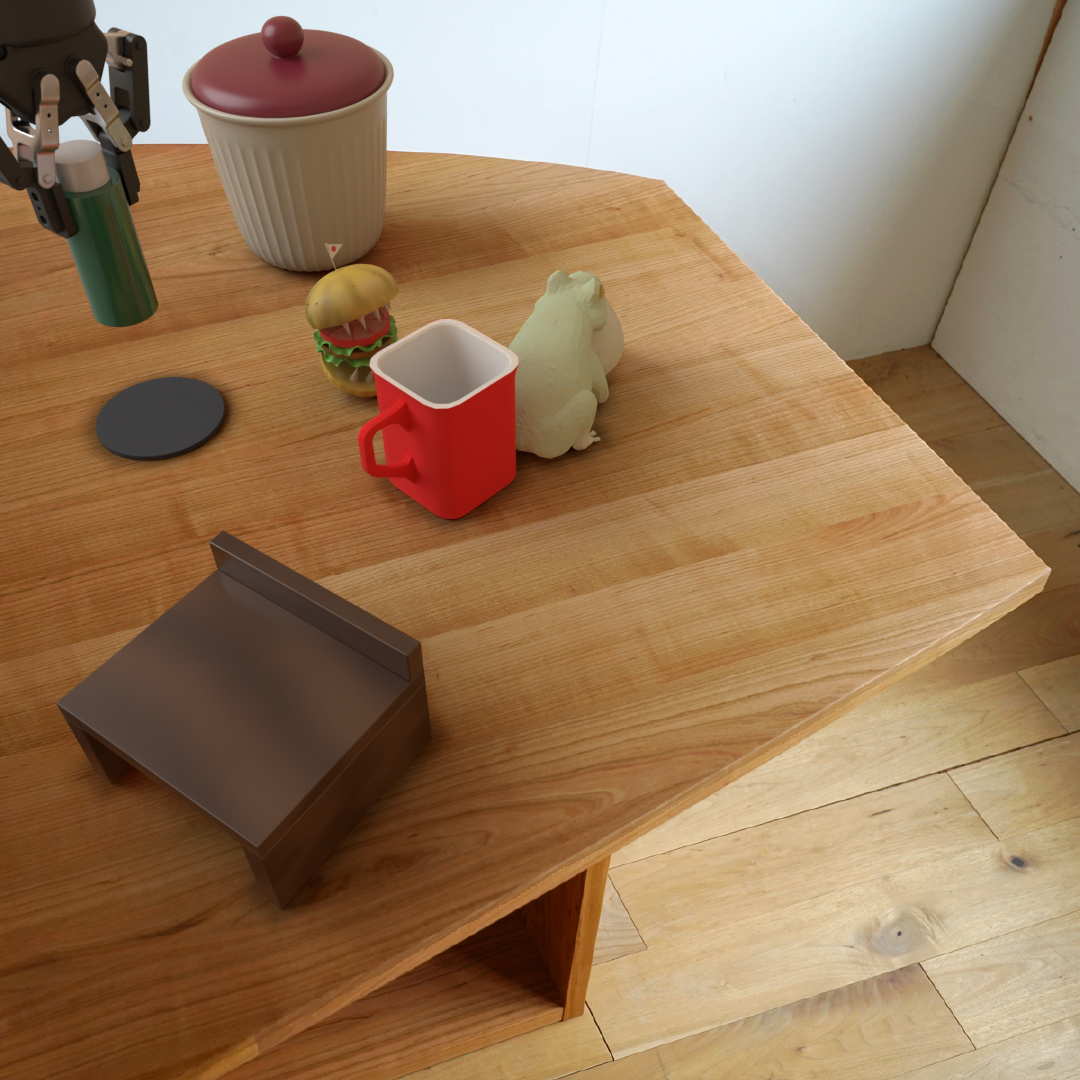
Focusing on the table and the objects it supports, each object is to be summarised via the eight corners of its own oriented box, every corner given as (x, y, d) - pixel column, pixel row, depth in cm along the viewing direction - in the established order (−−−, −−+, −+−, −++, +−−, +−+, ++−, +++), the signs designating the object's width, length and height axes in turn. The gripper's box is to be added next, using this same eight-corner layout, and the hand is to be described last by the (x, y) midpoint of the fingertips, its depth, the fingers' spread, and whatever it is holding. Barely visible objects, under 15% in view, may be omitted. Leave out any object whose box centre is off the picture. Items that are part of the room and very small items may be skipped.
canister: (413, 198, 108) (394, -20, 93) (403, 294, 96) (380, 61, 81) (239, 199, 108) (191, -20, 93) (206, 296, 95) (146, 62, 80)
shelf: (282, 910, 55) (247, 823, 48) (94, 771, 61) (40, 676, 54) (432, 738, 63) (421, 641, 56) (253, 629, 68) (223, 529, 62)
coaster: (156, 477, 78) (155, 473, 78) (69, 429, 82) (68, 425, 82) (251, 408, 84) (250, 404, 84) (166, 366, 88) (165, 362, 88)
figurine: (649, 361, 89) (660, 257, 82) (577, 480, 79) (583, 373, 71) (541, 332, 92) (542, 230, 85) (458, 444, 81) (451, 337, 74)
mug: (454, 425, 83) (446, 313, 75) (529, 474, 79) (529, 360, 71) (336, 501, 77) (315, 386, 69) (411, 557, 73) (397, 443, 65)
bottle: (122, 334, 73) (68, 174, 65) (79, 313, 75) (21, 155, 67) (171, 304, 76) (126, 147, 67) (129, 285, 78) (79, 129, 69)
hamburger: (360, 420, 83) (340, 291, 75) (299, 385, 86) (273, 257, 78) (426, 375, 87) (414, 248, 79) (366, 343, 91) (348, 217, 82)
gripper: (65, -104, 64) (139, 162, 76) (-156, -40, 55) (-31, 246, 68) (148, -82, 61) (212, 190, 73) (-71, -12, 52) (43, 282, 65)
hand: (94, 216), depth 70 cm, fingers closed on bottle, 4 cm apart
